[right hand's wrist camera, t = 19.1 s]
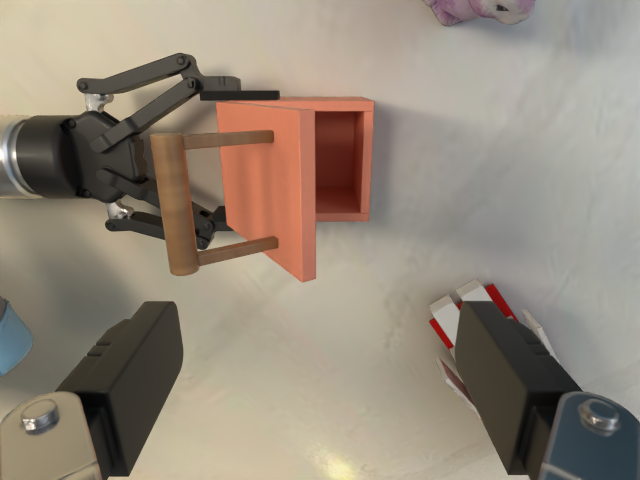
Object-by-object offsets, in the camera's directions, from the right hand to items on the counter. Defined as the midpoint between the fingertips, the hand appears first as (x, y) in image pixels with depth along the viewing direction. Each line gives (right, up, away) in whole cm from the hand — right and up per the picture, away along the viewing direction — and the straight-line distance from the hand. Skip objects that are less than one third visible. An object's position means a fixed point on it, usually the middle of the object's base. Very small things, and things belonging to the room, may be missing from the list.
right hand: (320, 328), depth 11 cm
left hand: (-4, +10, +26) cm, 28 cm away
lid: (-4, +7, +17) cm, 19 cm away
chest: (-2, +13, +32) cm, 35 cm away
